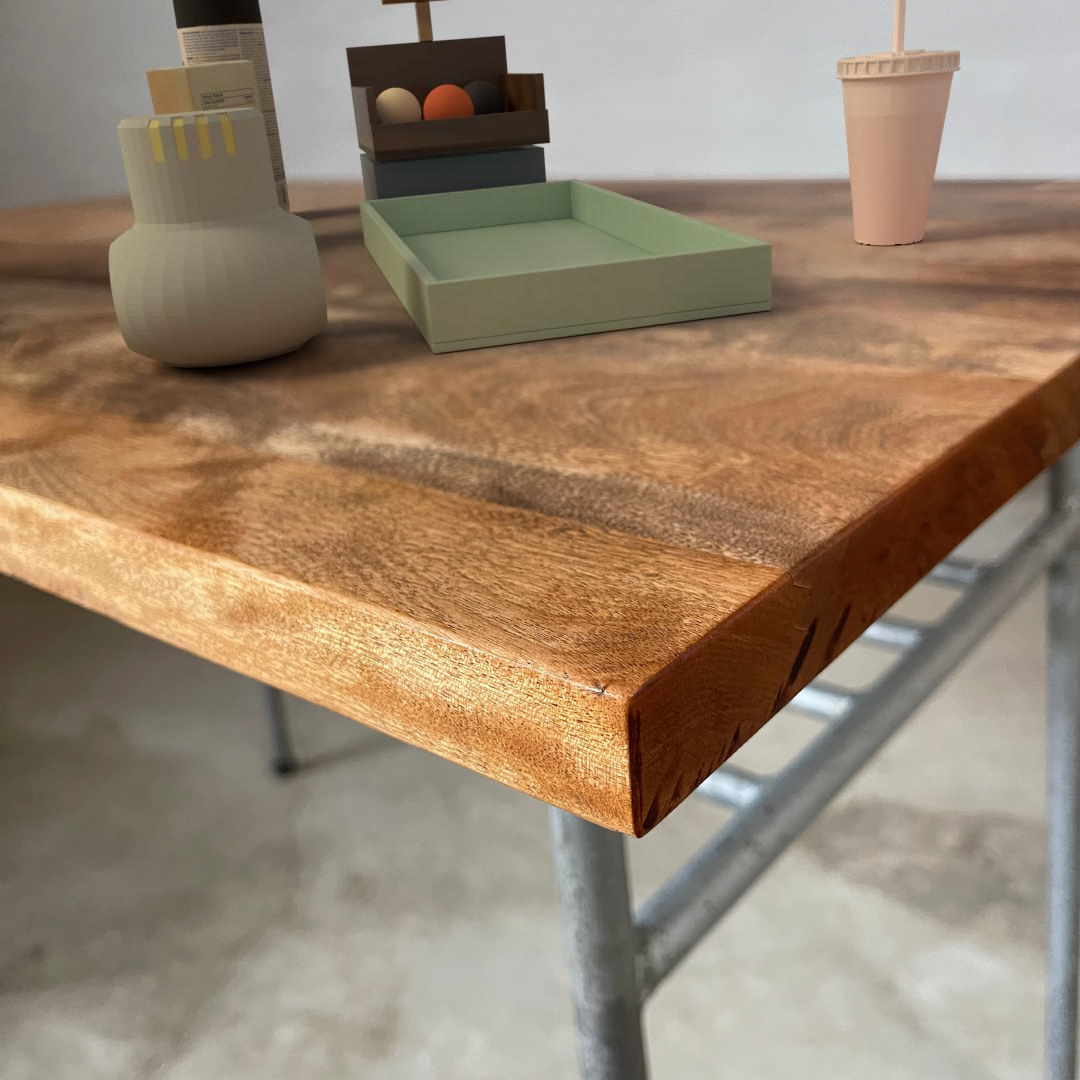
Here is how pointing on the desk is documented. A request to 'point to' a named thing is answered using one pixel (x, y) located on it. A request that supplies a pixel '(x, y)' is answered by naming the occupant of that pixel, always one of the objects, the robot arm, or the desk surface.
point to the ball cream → (397, 106)
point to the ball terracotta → (447, 103)
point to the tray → (556, 263)
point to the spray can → (233, 57)
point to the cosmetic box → (204, 87)
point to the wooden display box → (434, 67)
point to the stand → (452, 171)
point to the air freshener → (211, 245)
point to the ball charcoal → (485, 98)
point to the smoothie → (894, 135)
